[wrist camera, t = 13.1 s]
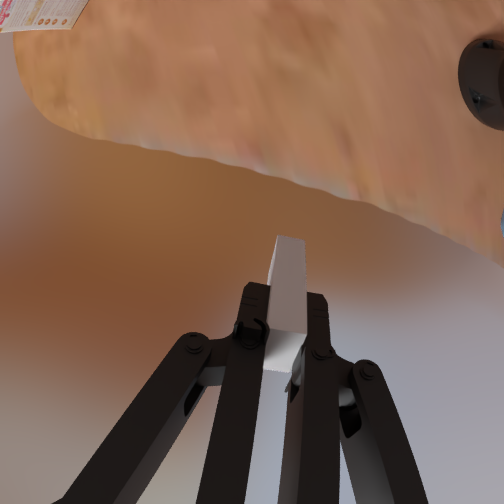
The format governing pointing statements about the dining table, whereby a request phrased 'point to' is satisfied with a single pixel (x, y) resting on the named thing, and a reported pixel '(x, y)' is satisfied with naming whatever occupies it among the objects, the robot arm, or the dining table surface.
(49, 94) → the dining table surface
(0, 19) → the coffeecake box
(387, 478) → the robot arm
